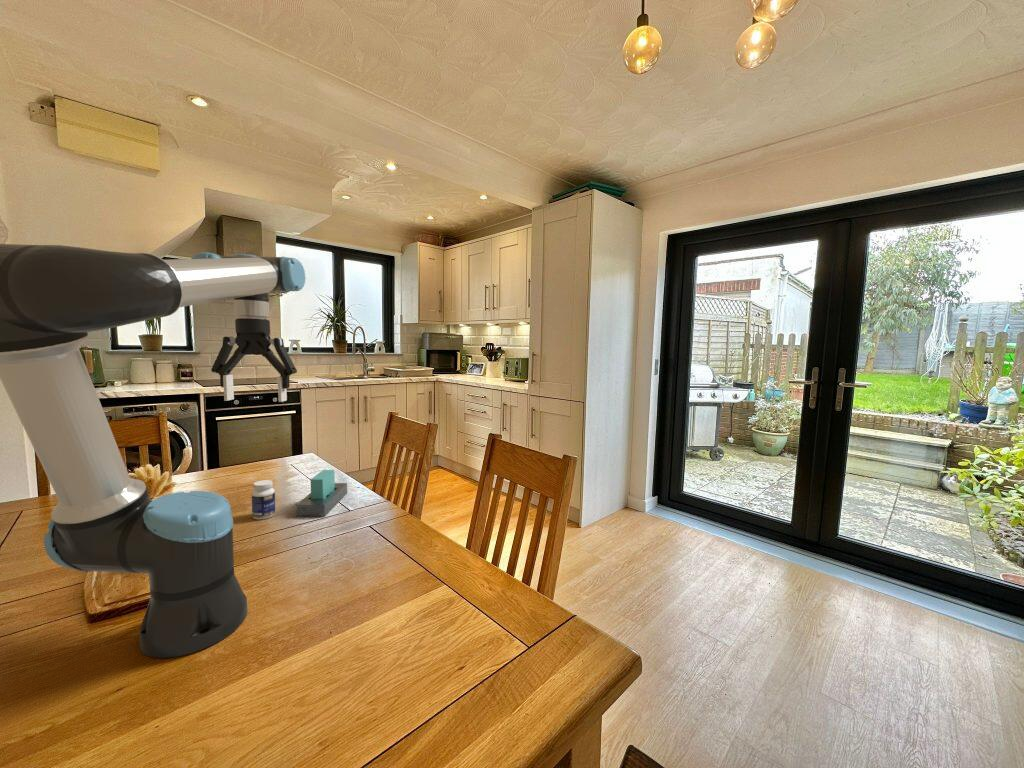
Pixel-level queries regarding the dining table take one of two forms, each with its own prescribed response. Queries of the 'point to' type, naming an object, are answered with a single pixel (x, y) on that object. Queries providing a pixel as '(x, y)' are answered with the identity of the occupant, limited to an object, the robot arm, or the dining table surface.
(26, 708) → the dining table surface
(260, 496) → the pill bottle
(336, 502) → the rail
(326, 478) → the clip
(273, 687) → the dining table surface
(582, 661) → the dining table surface
